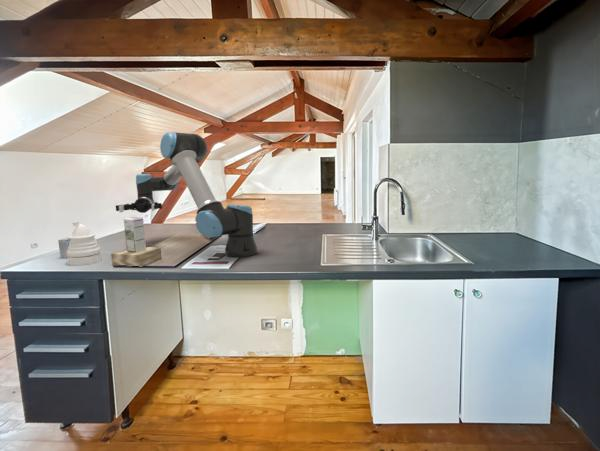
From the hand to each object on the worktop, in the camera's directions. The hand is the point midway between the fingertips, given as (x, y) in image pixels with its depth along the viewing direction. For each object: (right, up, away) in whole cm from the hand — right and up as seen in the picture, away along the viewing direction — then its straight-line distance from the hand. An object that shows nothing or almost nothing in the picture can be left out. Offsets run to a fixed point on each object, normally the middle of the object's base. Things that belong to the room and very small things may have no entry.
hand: (136, 208), depth 162 cm
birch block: (+3, -24, -6) cm, 25 cm away
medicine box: (-34, -22, +7) cm, 41 cm away
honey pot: (-21, -24, -4) cm, 32 cm away
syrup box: (+3, -19, -7) cm, 20 cm away
